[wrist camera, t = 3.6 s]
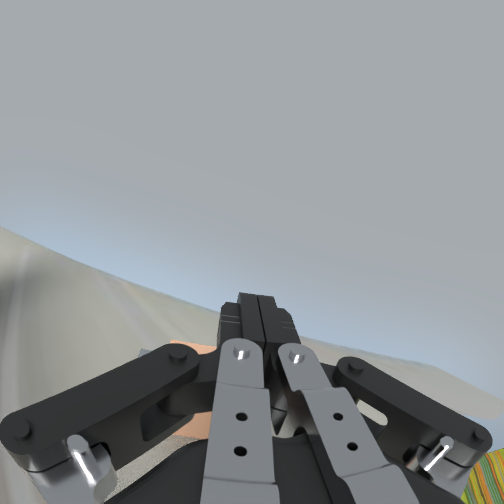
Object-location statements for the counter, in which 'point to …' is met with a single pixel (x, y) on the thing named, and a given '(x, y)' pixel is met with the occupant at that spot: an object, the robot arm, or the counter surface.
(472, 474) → the dish towel
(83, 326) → the counter surface
